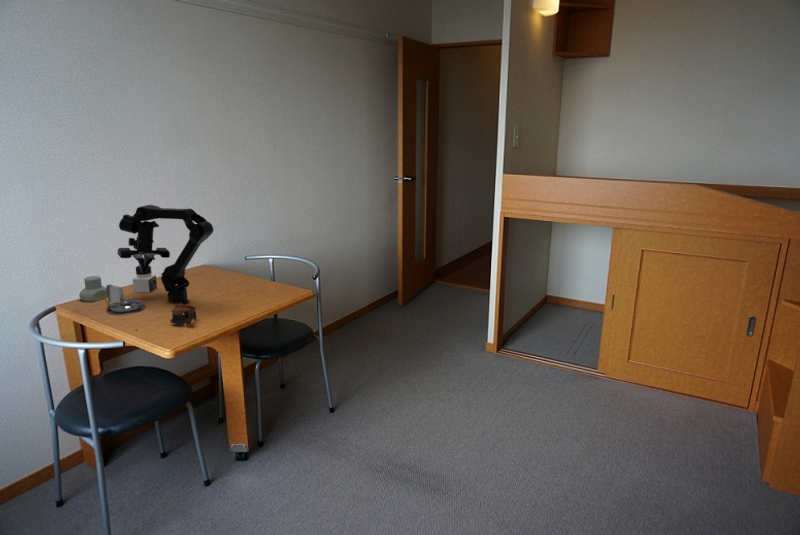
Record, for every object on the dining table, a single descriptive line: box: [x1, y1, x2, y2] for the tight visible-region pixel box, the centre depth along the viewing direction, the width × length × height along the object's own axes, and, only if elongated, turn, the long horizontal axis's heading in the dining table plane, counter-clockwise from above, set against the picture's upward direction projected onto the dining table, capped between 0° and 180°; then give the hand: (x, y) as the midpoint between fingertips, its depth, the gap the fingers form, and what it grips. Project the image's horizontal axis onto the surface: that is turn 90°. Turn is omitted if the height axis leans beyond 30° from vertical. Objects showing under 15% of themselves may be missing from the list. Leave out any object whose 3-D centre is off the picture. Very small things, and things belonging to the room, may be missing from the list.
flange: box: [104, 297, 147, 316], centre depth 217 cm, size 14×14×6 cm
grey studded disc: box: [105, 284, 143, 313], centre depth 217 cm, size 14×11×8 cm
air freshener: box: [78, 275, 108, 303], centre depth 229 cm, size 11×8×10 cm
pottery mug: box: [169, 303, 197, 328], centre depth 207 cm, size 12×10×8 cm
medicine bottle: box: [132, 264, 158, 293], centre depth 241 cm, size 7×7×12 cm
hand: (142, 272), depth 228 cm, fingers closed
